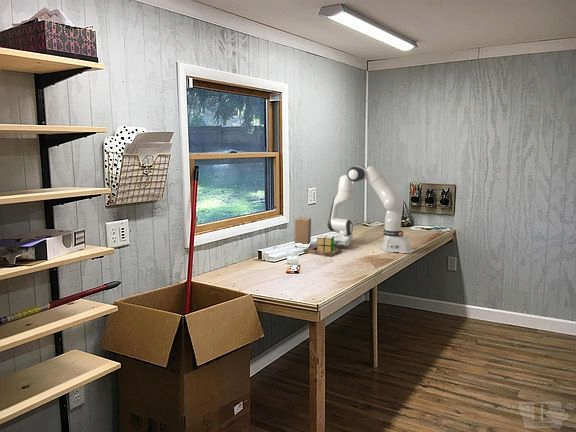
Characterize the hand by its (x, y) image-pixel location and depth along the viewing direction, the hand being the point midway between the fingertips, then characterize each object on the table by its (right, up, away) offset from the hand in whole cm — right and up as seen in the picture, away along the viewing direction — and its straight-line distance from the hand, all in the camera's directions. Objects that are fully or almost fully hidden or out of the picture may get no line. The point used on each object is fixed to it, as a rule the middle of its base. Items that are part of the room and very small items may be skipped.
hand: (330, 242), depth 349 cm
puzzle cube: (-4, -6, -4) cm, 8 cm away
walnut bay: (-6, -6, -8) cm, 12 cm away
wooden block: (-19, -3, +10) cm, 22 cm away
